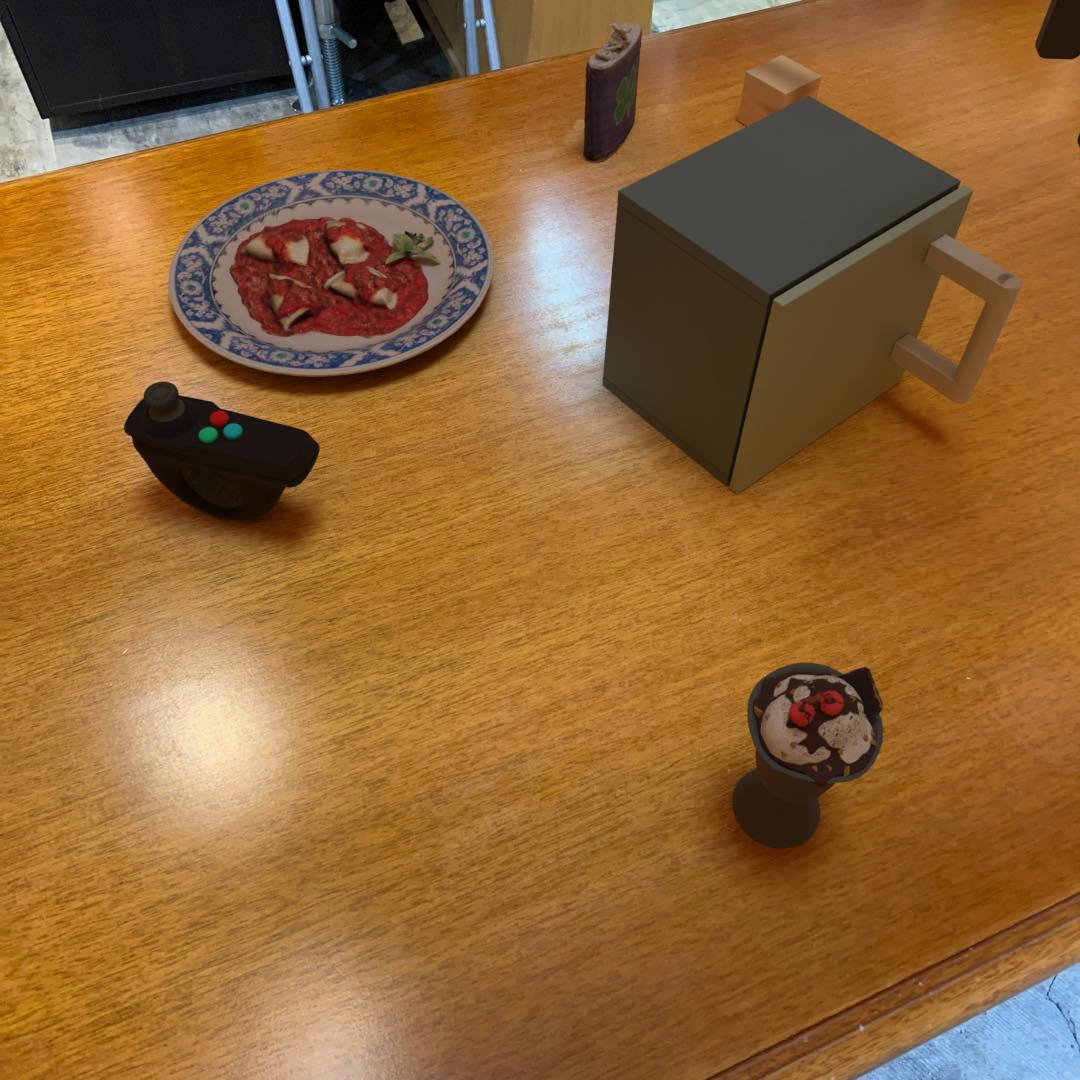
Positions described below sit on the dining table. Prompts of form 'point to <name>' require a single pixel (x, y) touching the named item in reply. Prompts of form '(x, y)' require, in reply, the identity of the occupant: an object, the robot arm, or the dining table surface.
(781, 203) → the cupboard
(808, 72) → the block
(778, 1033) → the dining table surface
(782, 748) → the sundae
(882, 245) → the door
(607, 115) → the flask
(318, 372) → the ceramic plate
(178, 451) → the controller
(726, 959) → the dining table surface
